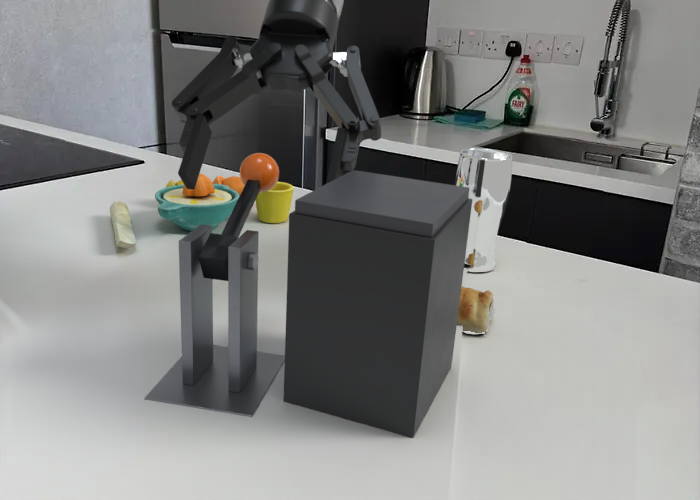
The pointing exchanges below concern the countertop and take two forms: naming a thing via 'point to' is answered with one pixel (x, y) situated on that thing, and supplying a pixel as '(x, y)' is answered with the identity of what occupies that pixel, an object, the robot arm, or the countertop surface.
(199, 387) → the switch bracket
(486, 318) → the pastry
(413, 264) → the lidded storage box
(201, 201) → the toy juicer set
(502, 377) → the countertop surface
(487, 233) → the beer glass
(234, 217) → the lever
